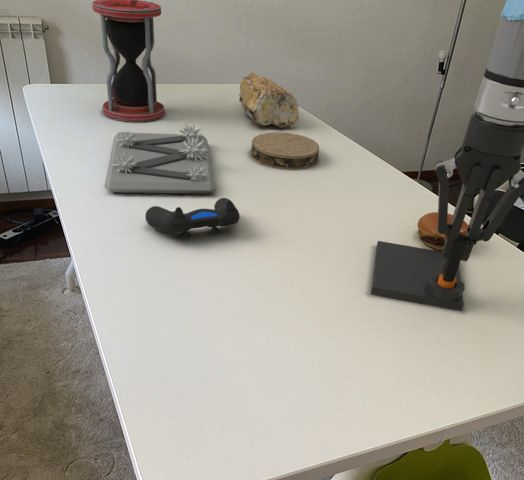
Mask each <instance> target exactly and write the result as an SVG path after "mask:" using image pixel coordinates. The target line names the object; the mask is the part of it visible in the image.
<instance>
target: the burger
mask: <svg viewBox="0 0 524 480" xmlns="http://www.w3.org/2000/svg"><path fill="white" fill-rule="evenodd" d="M452 217H453V214H451V213H448V216H447V223H448V224H450V223H451V220H452ZM468 226H469V223H467V222H466V221H465V220H464V221H463V224H462V227H461V230H460V232H459V234H461V235H465V236H466V232H467V229H468ZM417 229H418V230H417V236H418V238H419V239H420V241H422V242H423V243H424V244H425V245H426V246H428V247H430V248H433V249H435V250H436V251H442V250H443V247H444V243H445V240H446V237H447V236H446V235H444V234H440V233H439V232H438V211H437V212H435V211H432V212H428V213H426V214H423V215H422V216H421V217H420V218H419V219H418V221H417Z"/></svg>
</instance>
